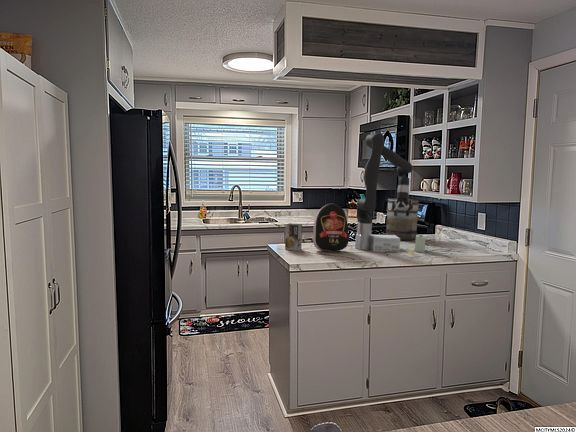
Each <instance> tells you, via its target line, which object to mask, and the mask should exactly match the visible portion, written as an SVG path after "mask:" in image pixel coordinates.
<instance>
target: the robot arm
mask: <svg viewBox="0 0 576 432" xmlns="http://www.w3.org/2000/svg"><path fill="white" fill-rule="evenodd" d="M364 142H365V144H366V146H367V147H368V148H370V149H371V153H370V157H369V158H368V160H367V163H366V164H365V166H364V171H363V182H364V185H365V189H366V191H365V192H366V194H365V197H362V198H359V200H358V201H357V203H356V218H357V228H356V229H357V231H356V234H355V246H354V247H355V248H354V249H357V250H359V251H360V250H365V251H367V250H372V249H371V235H372V230H373V219H372V217H371V216H370V215H369V214H372V213H374V211H375V210H376V206H377V205H376V203H377V188H378V179H379V173H380V166H381V165H380V164H381V159H382V158H381V157H383V158H384V159H386V160H387V161H388V162H389V163H390V164H391V165H392V166H393V167H395V168H396V173H397V178H398V184H397V190H396V191H397V192H396V194H397V195H396V199H397V201H393V202H392V210H394V216H397V210H398V209H399V208H400V207H401V208H402V207H405V208H406V216H409V211H410V210H412V209H413V201H411V200H410V201H408V199H410V198H409V196H410V178H409V177H408V176H406V174H411V173H412V171H414V169H413V168H414V166H413V164H412V163H411V162H409V161H408V160H407V159H404V158H402V157H401V156H400V155H399V154H398V153H396V152H395V151H394V150H392V149H390V148H388V147H387V146H385V137H384V135H383V134H382V133H380V132H377V133H370V134H367V135H366V137H365V141H364ZM396 203H397V205H396ZM408 203H409V207H408V205H407V204H408ZM395 206H396V207H395Z"/></svg>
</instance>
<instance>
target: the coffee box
mask: <svg viewBox="0 0 576 432" xmlns="http://www.w3.org/2000/svg"><path fill="white" fill-rule="evenodd" d="M284 234H285V237H284V239H285V240H284V242H285V243H284V244H285V245H284V250H289V251H300V250H302V239H303V238H302V237H303V224H300V223H292V222H291V223H290V222H289V223H287V224H285V233H284Z"/></svg>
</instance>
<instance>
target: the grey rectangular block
mask: <svg viewBox="0 0 576 432" xmlns="http://www.w3.org/2000/svg"><path fill="white" fill-rule="evenodd" d="M426 238H427V236H426V235H424V234H416V240H415V244H414V246H415V247H414V249H415V252H424V253H423V254H426V253H425V250H426Z"/></svg>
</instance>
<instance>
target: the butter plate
mask: <svg viewBox="0 0 576 432" xmlns="http://www.w3.org/2000/svg"><path fill="white" fill-rule="evenodd" d="M408 249H409V250H408V251H401V252H400V251H396V252H397V254H399V255H402V256H403V257H405V258H410V259H411V258H417V257H426V255H425V254H423V253H416V252H414V249H415V247H414V248H412V247H411V248H410V247H409V248H408Z"/></svg>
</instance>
